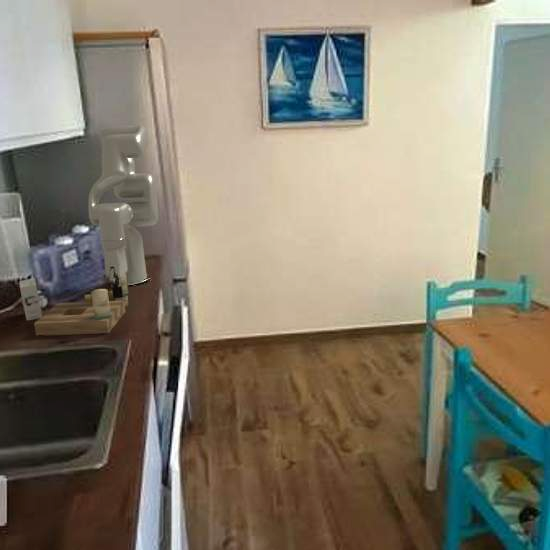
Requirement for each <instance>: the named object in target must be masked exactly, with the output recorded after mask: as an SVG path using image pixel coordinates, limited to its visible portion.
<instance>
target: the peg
mask: <svg viewBox="0 0 550 550" xmlns="http://www.w3.org/2000/svg"><path fill="white" fill-rule="evenodd" d="M115 278H118V276H115ZM115 281H117V282H118V280H115ZM120 282H121V286H122V292H123V297H122V298H116V301H124V305H125V307H128V306H129V299H128V297H129V296H128V295H129V287H128V288H127V281H126V273H125V272H124V273H123V276H122V277H121V278H120Z"/></svg>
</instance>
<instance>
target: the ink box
mask: <svg viewBox="0 0 550 550" xmlns="http://www.w3.org/2000/svg"><path fill="white" fill-rule="evenodd" d="M19 289H20V290H19V291H20V294H21V300H22V301H21V302H22V305H23V310H24V314H25V319H26V321H31V320H39V319H40V318H41V317H43V313H42V308H41V304H40V303H41V302H40V298H39V292H38V287H37V284H36V279H35V278H28V279H24V280H19Z"/></svg>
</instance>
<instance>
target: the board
mask: <svg viewBox="0 0 550 550" xmlns="http://www.w3.org/2000/svg"><path fill="white" fill-rule="evenodd" d="M90 295H91V297H92V302H85V301H81V302H80V301H79V302H58V303H56V304H55V305H54V307H52V308H51V309H49V310H48V311H47V312H46V313H45V314H44V315H42V317H41V318H38V319H37V320H36V321H35V322H34V323H33V324H34V325H33V326H34V331H35V336H36V337H39V336H38V335H45V336H63V335H64V336H65V335H66V336H69V335H87V334H88V335H91V334H92V335H93V334H94V335H95V334H110V332H111V330H112V329H113V328H114V327H115V326H116V324H117V323H118V322H119V320H121V318H122V317H123V316H124V314H125V313H126V306H125V305H124V301H109V298H108V289H106V288H101V289H97V290H92V291H91V292H90Z"/></svg>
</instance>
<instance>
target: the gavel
mask: <svg viewBox="0 0 550 550" xmlns="http://www.w3.org/2000/svg"><path fill="white" fill-rule="evenodd" d="M97 289H102V288H101V287H100V286H96V287H94V290H97ZM94 290H93V291H94ZM107 291H108V290H107ZM83 297H84V302H92V297H91V293H88V294H84V296H83ZM108 298H109V301H116V298H114V297H113V291H112V290H110V291H108Z"/></svg>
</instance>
